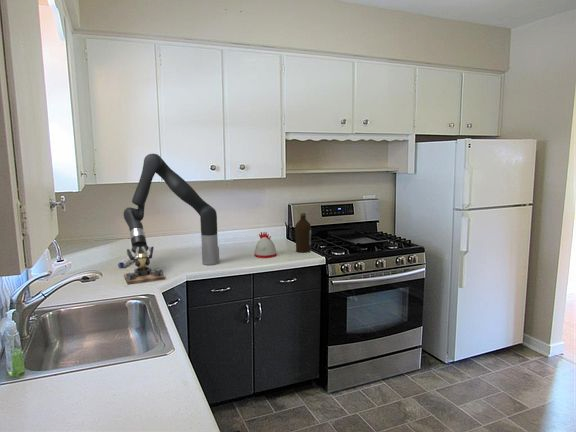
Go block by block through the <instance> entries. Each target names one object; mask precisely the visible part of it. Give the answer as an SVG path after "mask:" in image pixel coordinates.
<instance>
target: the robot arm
mask: <svg viewBox="0 0 576 432" xmlns="http://www.w3.org/2000/svg"><path fill="white" fill-rule="evenodd" d="M141 170H142V171H141V174H140V177H139V180H138V183H137V186H136V188H135V191H134V194H133V196H132V199H131V202H132V204H134V205H135V206H137V208H133V207H126V208H125V209H124V211H123V218H124V221H125V222H126V224H127V226H128V228H129V229H128V230H129V237H130V243H131V248H130V249H129V248H128V249H127V248H126V254H127V257H128V256H129V258H130V260H131V262H132V261H134V264H135V265H134V266H135V267H137V268H138V267H139V263H138V259H137V253H142V252H145V253H146V255H147V267H149V265H150V263H151V262H150V259H153V252H154V249H155V248H154V246H151V247H150V246H148V245H147V239H146V234H145V231H144V225H143V222H141V221H143V220H144V217H145V206H146V205H145V204H146V202H147V199H148V197H149V193H150V189H151V184H152V181H153V178H154V176H155V174H157V175H158V176H159V177H160V178H161V179H162V180H163V181H164V183H165V184H166V185H167V187H168V188H169V189H170V191H172V192H173V193H174V195H175V196H176V197H178V198H179V199H180V200H181V201H183V202H184V203H186V204H187V205H189V206H190V207H191V208H192V209H194V210H195V212H196V213H197V214H198V215H199V216H200V217H199V219H200V238H201V259H202V260H201V261H202V265H204V266H213V265H218V264H220V263H221V262H220V261H221V260H220V247H219V243H218V242H219V241H218V214H217V211H216V209H215V208H214V207H213V206H212V205H210V204H209V203H207V202H206V201H205V200H204V199H203V198H202V197H201V196H200V194H198V193H197V192H196V190H195V189H194V188H193V187H192V186H191V185H190V184H189V183H188V182H187V181H186V180H185V179H184V178H182V176H180V175H179V174H178V173H176V171H174V170H172V169H171V167H170V166H168V164H167V163H166V162H165V160H164V159H163V158H162V157H161V155H159V154H157V153H149V154H147V155H146V156H145V157H144V158H143V165H142V169H141ZM148 251H149V252H150V253H149V252H148ZM133 252H134V253H135V257H133V255H132V253H133ZM148 253H149V254H148Z"/></svg>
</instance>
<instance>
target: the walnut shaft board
mask: <svg viewBox="0 0 576 432" xmlns="http://www.w3.org/2000/svg"><path fill="white" fill-rule="evenodd" d="M155 270H156V269H151V271H155ZM123 278H124V280H125V282H126V284H127V286H128V285H135V284H143V283H149V282H156V281H164V280H166V276H165V275H164V274H163V275H162V276H155V275H146V276H139V277H136V279H134V280H127V273H123Z"/></svg>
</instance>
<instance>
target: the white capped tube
mask: <svg viewBox="0 0 576 432" xmlns="http://www.w3.org/2000/svg"><path fill="white" fill-rule="evenodd" d="M131 254H132V255H133V257H135V253H134V252H132V253H131ZM131 262H132V261H131V260H130V258H129V256H128V255H127V256H126V257H124V259H121V260H120V261H119V263H118V264H117V267H118V269H124V268H126V267H127V266H128V265H129V264H130V263H131Z"/></svg>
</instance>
